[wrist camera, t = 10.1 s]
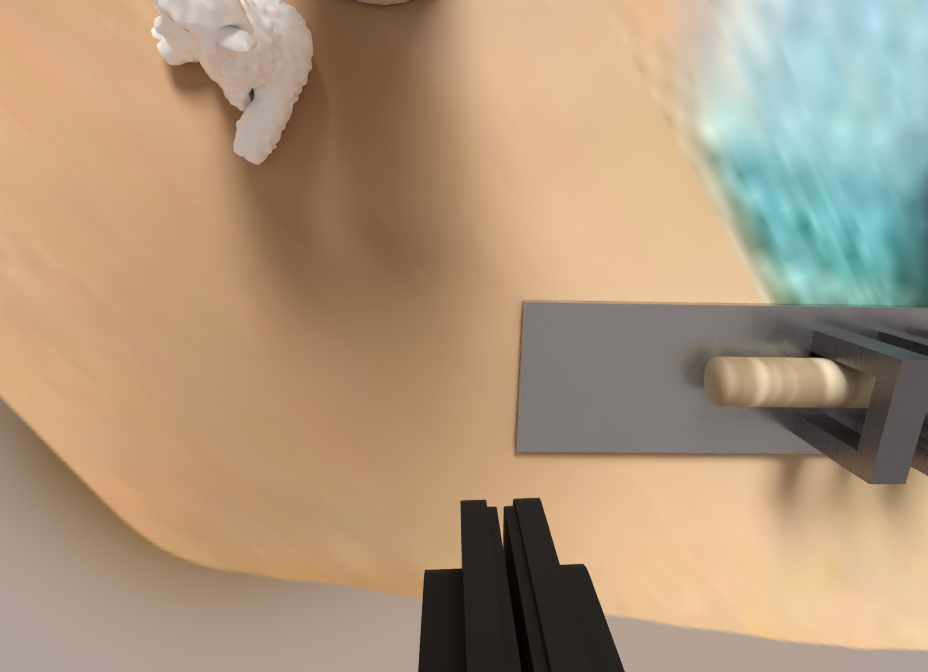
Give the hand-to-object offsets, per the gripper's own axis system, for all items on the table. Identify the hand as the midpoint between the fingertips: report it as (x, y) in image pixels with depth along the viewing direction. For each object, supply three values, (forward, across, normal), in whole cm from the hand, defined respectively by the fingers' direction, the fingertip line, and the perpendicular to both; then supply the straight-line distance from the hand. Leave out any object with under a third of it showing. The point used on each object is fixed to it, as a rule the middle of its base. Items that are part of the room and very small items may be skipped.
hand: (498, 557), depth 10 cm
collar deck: (+26, -24, +7) cm, 36 cm away
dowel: (+25, -30, +8) cm, 40 cm away
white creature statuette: (+27, +13, -15) cm, 34 cm away
